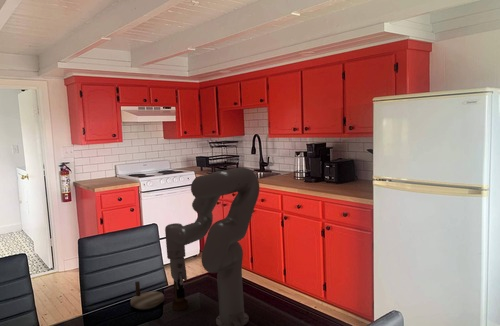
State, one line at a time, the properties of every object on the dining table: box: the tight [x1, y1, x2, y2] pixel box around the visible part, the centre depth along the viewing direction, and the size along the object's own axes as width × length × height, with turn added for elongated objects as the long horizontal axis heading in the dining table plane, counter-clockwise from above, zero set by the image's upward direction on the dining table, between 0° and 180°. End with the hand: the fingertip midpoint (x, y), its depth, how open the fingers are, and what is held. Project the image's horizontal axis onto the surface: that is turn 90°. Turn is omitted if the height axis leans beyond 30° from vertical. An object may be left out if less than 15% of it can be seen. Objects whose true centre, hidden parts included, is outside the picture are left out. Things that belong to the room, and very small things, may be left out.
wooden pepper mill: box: [172, 280, 189, 312], centre depth 163 cm, size 7×6×18 cm
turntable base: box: [136, 304, 160, 311], centre depth 168 cm, size 10×10×1 cm
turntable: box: [130, 281, 165, 309], centre depth 167 cm, size 14×14×8 cm
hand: (179, 295), depth 163 cm, fingers closed on wooden pepper mill, 3 cm apart
